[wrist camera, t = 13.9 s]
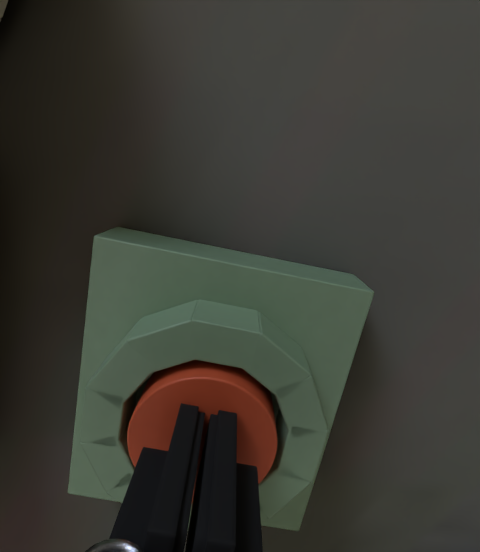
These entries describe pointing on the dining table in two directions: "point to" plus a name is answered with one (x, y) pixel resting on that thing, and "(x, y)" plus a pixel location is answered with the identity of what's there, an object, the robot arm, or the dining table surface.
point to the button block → (213, 351)
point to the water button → (206, 410)
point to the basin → (2, 7)
